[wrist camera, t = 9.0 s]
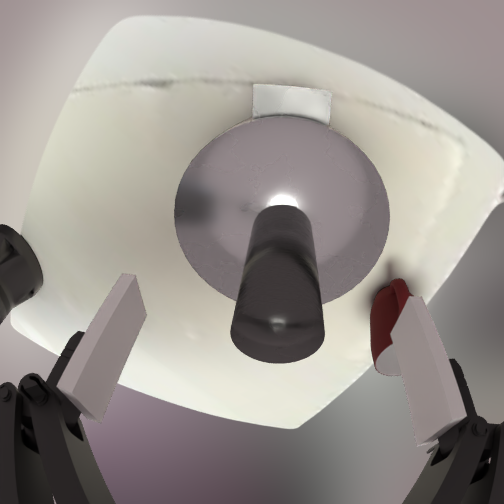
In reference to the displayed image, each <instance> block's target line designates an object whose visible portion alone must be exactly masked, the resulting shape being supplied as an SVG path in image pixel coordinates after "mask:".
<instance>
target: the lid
mask: <svg viewBox="0 0 504 504" xmlns="http://www.w3.org/2000/svg"><path fill="white" fill-rule="evenodd" d="M174 218H175V227H176V233H177V237H178V240H179V243H180V246H181V248H182V250H183V252H184V254H185V256H186V258H187V260H188V261H189V263H190V264H191V266H192V267H193V268H194V270H195V271H196V272H197V273H198V274H199V275H200V277H201V278H203V279H204V280H205V281H206V282H207V283H208V284H209V285H210V286H212V287H213V288H214V289H216V290H217V291H218V292H220V293H222V294H224V295H225V296H227V297H229V298H231V299H233V300H235V301H236V306H235V311H234V316H233V320H232V325H231V331H230V334H231V339H232V341H233V343H234V345H235V346H236V347H237V348H238V349H239V350H240V351H241V352H242V353H244V354H245V355H247V356H249V357H251V358H253V359H256V360H259V361H262V362H267V363H291V362H296V361H299V360H302V359H305V358H307V357H309V356H310V355H312V354H314V353H315V352H316V351H317V350H318V349H319V348H320V347H321V345H322V343H323V341H324V337H325V330H324V320H323V310H322V304H325V303H327V302H330V301H332V300H334V299H336V298H338V297H340V296H342V295H344V294H345V293H347V292H348V291H350V290H351V289H352V288H354V287H355V286H356V285H357V284H358V283H360V282H361V281H362V280H363V279H364V278H365V277H366V276H367V274H368V273H369V272H370V271H371V269H372V268H373V267H374V265H375V264H376V262H377V261H378V259H379V257H380V255H381V253H382V251H383V248H384V246H385V243H386V240H387V235H388V231H389V222H390V211H389V202H388V197H387V193H386V189H385V187H384V184H383V181H382V179H381V177H380V175H379V173H378V171H377V170H376V168H375V166H374V165H373V163H372V162H371V161H370V160H369V158H368V157H367V156H366V155H365V154H364V152H362V151H361V150H360V149H359V148H358V147H357V146H356V145H355V144H354V143H353V142H352V141H351V140H349V139H348V138H347V137H345V136H344V135H342V134H341V133H339V132H338V131H336V130H334V129H332V128H330V127H328V126H326V125H324V124H322V123H318V122H315V121H312V120H309V119H304V118H298V117H292V116H272V117H264V118H258V119H254V120H250V121H247V122H243V123H241V124H239V125H237V126H234V127H232V128H230V129H228V130H227V131H225V132H223V133H222V134H220V135H219V136H217V137H216V138H215V139H213V140H212V141H211V142H210V143H209V144H208V145H206V146H205V147H204V148H203V149H202V150H201V151H200V152H199V153H198V154H197V156H196V157H195V158H194V159H193V160H192V162H191V163H190V165H189V166H188V168H187V169H186V171H185V173H184V175H183V177H182V179H181V182H180V184H179V187H178V191H177V195H176V199H175V208H174Z"/></svg>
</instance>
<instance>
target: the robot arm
mask: <svg viewBox="0 0 504 504" xmlns="http://www.w3.org/2000/svg"><path fill="white" fill-rule="evenodd" d="M42 282H43V278H42V272H41V269H40V266H39V263H38V261H37V259H36V257H35V255H34V253H33V252H32V250H31V248H30V247H29V245H28V244H27V243H26V241H25V240H24V239H23V238H22V237H21V236H20V235H19V234H18V233H17V232H16V231H15V230H14V229H13V228H11V227H9V226H7V225H3V224H1V225H0V324H1V323H2V322H3V320H4V319H5V318H6V316H7V315H8V313H9V312H10V311H11V310H12V309H13V308H14V307H16V306H18V305H19V304H21V303H23V302H24V301H26V300H28V299H29V298H31V297H33V296H34V295H35V294H36V293H37V292H38V290H39V289H40V288H41V286H42ZM146 316H147V314H146V310H145V307H144V304H143V300H142V297H141V293H140V290H139V286H138V282H137V278H136V275H130V274H122V275H121V276H120V278H119V279H118V281H117V282H116V284H115V285H114V287H113V288H112V290H111V291H110V293H109V295H108V296H107V298H106V299H105V301H104V302H103V304H102V306H101V307H100V309H99V310H98V312H97V314H96V315H95V317H94V319H93V320H92V322H91V324H90V325H89V327H88V329H87V331H86V332H81V331H78V332H77V333H75V334H74V335H73V336H72V337H71V338H70V339H69V341H68V343H67V344H66V346H65V349H64V350H63V351H62V353H61V356H60V357H59V358H58V360H57V362H56V364H55V366H54V368H53V369H52V372H51V373H50V375H49V377H48V379H47V381H46V382H45V381H44V380H43V379H42V378H41V377H40V376H39V375H38V374H35V373H30V374H27V375H26V376H24V377H23V378H22V379H21V381H20V383H19V386H18V389H17V388H16V387H15V386H14V385H13V384H12V383H10V382H6V383H3V384H2V385H0V504H54V500H53V496H54V499H55V501H56V504H116V503H115V501H114V499H113V498H112V496H111V494H110V492H109V490H108V488H107V485H106V483H105V481H104V479H103V477H102V475H101V472H100V470H99V468H98V466H97V463H96V461H95V458H94V455H93V453H92V450H91V448H90V445H89V442H88V440H87V437H86V434H85V431H84V428H83V425H82V422H81V420H80V418H79V416H80V414H81V413H82V414H83V415H84V416H85V417H86V418H88V419H90V420H93V421H96V422H98V423H102V420H103V417H104V415H105V412H106V410H107V407H108V404H109V402H110V399H111V397H112V394H113V391H114V389H115V387H116V384H117V382H118V380H119V377H120V375H121V372H122V370H123V368H124V365H125V363H126V361H127V358H128V356H129V354H130V351H131V349H132V347H133V345H134V342H135V340H136V338H137V336H138V334H139V331H140V329H141V327H142V325H143V323H144V321H145V318H146ZM390 335H391V338H392V341H393V345H394V348H395V352H396V355H397V359H398V363H399V366H400V370H401V374H402V378H403V382H404V386H405V391H406V395H407V399H408V404H409V409H410V413H411V418H412V423H413V429H414V434H415V440H416V446H421V445H425V444H429V443H432V442H433V441H434V440H436V439H437V438H438V441H439V443H438V444H436V445H435V446H433V447H432V448H430V449H429V450H428V451H427V453H430V452H431V451H433V453H432V454H431V456H430V458H429V460H428V462H427V464H426V466H425V467H424V469H423V471H422V473H421V474H420V476H419V478H418V480H417V481H416V483H415V485H414V486H413V488H412V489H411V491H410V493H409V494H408V496H407V497H406V499H405V500H404V502H403V503H402V504H504V422H502V423H501V424H489V423H487V421H486V420H485V419H484V418H482V417H480V416H477V413H476V411H475V407H474V404H473V401H472V398H471V395H470V392H469V388H468V386H467V383H466V380H465V379H464V374H463V372H462V369H461V367H460V365H459V364H458V363H457V361H456V360H455V359H448V357H447V354H446V352H445V349H444V346H443V344H442V342H441V339H440V336H439V334H438V332H437V329H436V327H435V325H434V322H433V320H432V318H431V316H430V313H429V311H428V309H427V307H426V305H425V302H424V300H423V298H422V297H416V296H409V298H408V300H407V302H406V304H405V306H404V308H403V310H402V312H401V314H400V316H399V318H398V320H397V322H396V324H395V326H394V328H393V330H392V332H391V333H390ZM489 458H491V461H490V464H489Z"/></svg>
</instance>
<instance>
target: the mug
mask: <svg viewBox="0 0 504 504" xmlns="http://www.w3.org/2000/svg"><path fill="white" fill-rule="evenodd" d="M409 296H413V295H412V294H411V293H409V290H408V287H407V285H406V283H405V281H404V280H403V279H400V278H399V279H394V280H392V281H391V283H390V286H387V287H385V288H383V289H382V290H380V291H379V292H378V294H377V295H376V297H375V300H374V303H373V305H372V309H371V313H370V335H371V352H372V357H373V361H374V365H375V369H376V370H377V371H378V372H379V373H381V374H383V375H387V376H398V375H402V374H401V370H400V366H399V363H398V359H397V355H396V352H395V348H394V345H393V341H392V338H391V335H390V333H391V332H392V330H393V328H394V326H395V324H396V322H397V320H398V318H399V316H400V314H401V312H402V310H403V308H404V306H405V304H406V302H407V300H408V298H409Z"/></svg>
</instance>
